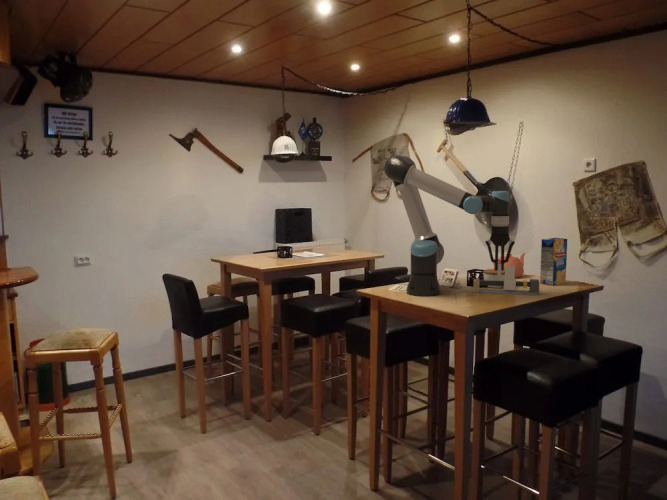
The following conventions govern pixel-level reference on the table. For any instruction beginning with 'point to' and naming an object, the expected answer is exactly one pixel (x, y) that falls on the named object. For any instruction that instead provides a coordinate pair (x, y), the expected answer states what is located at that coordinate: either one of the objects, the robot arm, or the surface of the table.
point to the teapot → (514, 264)
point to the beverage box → (553, 261)
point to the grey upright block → (509, 278)
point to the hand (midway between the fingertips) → (499, 277)
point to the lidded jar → (493, 276)
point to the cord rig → (532, 284)
